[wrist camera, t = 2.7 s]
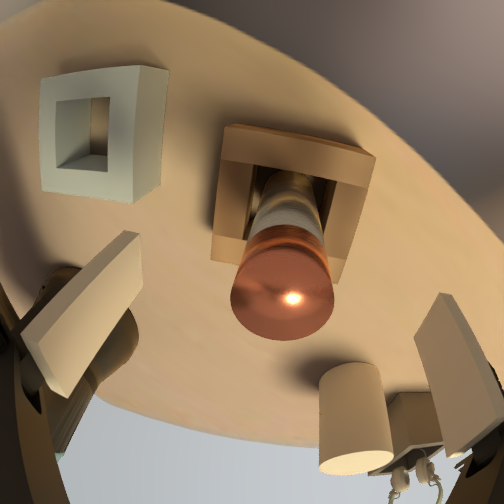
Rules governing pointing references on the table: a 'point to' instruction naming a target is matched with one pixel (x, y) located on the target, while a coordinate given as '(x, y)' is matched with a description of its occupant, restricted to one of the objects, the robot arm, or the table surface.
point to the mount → (297, 160)
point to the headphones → (423, 473)
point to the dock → (119, 132)
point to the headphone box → (412, 431)
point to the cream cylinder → (353, 420)
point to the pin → (284, 264)
